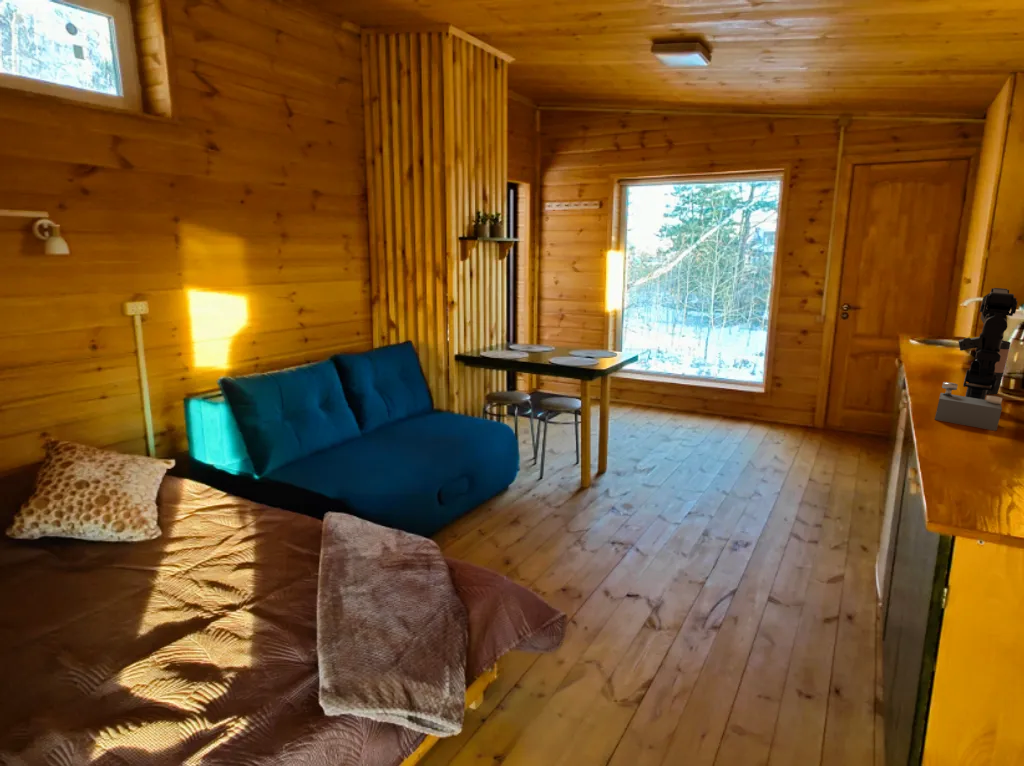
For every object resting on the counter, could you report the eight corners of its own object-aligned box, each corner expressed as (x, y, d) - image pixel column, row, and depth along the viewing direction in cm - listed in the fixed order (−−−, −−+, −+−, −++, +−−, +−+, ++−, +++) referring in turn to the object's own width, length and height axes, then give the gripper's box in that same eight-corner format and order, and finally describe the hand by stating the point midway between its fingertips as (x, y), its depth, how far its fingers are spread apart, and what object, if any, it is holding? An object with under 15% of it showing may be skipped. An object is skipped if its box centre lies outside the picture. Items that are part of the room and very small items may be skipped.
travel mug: (1002, 395, 242) (1015, 343, 237) (979, 393, 243) (992, 341, 238) (992, 390, 249) (1004, 340, 244) (970, 388, 250) (982, 338, 246)
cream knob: (983, 407, 204) (986, 394, 203) (999, 409, 202) (1002, 397, 201) (983, 409, 201) (986, 397, 200) (999, 412, 199) (1002, 399, 198)
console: (936, 413, 212) (940, 392, 211) (995, 423, 204) (1000, 402, 202) (934, 419, 204) (939, 398, 203) (996, 430, 196) (1001, 408, 194)
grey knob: (940, 393, 210) (943, 381, 209) (955, 395, 208) (957, 383, 207) (940, 395, 207) (942, 383, 206) (954, 398, 205) (957, 385, 204)
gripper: (963, 325, 221) (953, 369, 224) (962, 331, 206) (951, 378, 210) (1003, 329, 215) (992, 375, 218) (1005, 336, 200) (993, 384, 203)
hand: (981, 377), depth 213 cm, fingers closed
